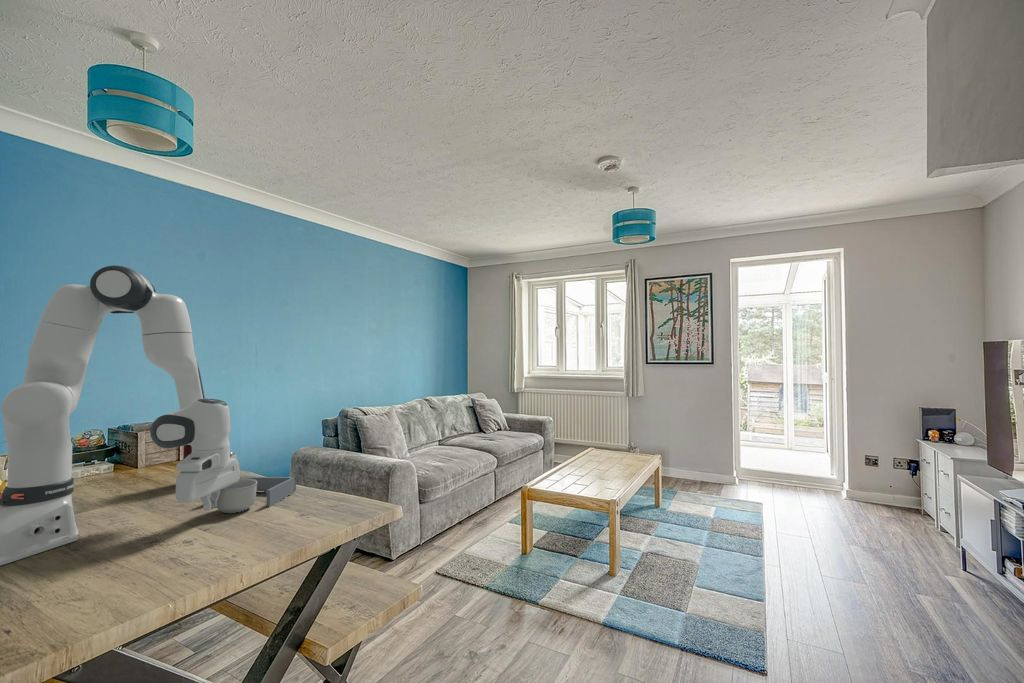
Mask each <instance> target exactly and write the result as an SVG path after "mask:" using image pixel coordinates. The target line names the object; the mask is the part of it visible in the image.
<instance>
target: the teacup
mask: <svg viewBox="0 0 1024 683" xmlns="http://www.w3.org/2000/svg"><path fill="white" fill-rule="evenodd" d="M256 490H257V480H254V479H244V478H243V479H239V481H238V483H236V484H233V485H231V486H229V487H226V488H224V489H221V490H220V495H219V498H218V500H217V506H216V507H215V508H214V509H217V510H218V511H220V512H221V513H224V514H237V513H236V512H238V513H242V512H245V511H247V510H248V509H249V508H250V507H252V506H253V505H254V503H255V502H256V497H257V493H256ZM244 510H245V511H244ZM241 511H242V512H241Z"/></svg>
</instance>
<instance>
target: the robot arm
mask: <svg viewBox="0 0 1024 683" xmlns="http://www.w3.org/2000/svg"><path fill="white" fill-rule="evenodd" d="M110 313H111V314H135V315H136V316H137V317H138V319H139V322H140V328H141V340H142V347H143V351H144V354H145V357H146V359H147V360H148V361H149V362H150V363H151V364H152V365H154V366H155V367H158V368H159V369H161V370H163V371H164V372H166V373H167V374H168V375H170V376H171V377H172V379H173V381H174V384H175V389H176V394H177V398H178V405H179V408H178V410H175V411H171V412H167V413H165V414H163V415H161V416H159V417H157V418H156V419H155V420H154V421H153V422H152V424H151V426H150V431H149V432H150V438H151V440H152V442H153V443H154V444H155V445H156V446H158V447H160V448H162V449H163V448H164V449H177V448H180V447H184V446H185V445H191V446H192V453H191V454H189V455H188V456H187V457H186V458H185V459H183V458H182V460H180V461H179V462H178V463H177V464H176V467H175V470H176V471H177V473H178V472H179V473H178V474H177V476H176V479H175V499H176V500H177V503H191V502H194V501H197V500H200V501H201V503H202V505H203V506H202V507H203V511H205V512H207V511H211V510H213V509H216V508H215V507H216V506H217V500H218V498H219V495H220V490H221V489H224V488H226V487H229V486H231V485H233V484H236V483H238V481H239V479H240V477H241V471H240V462H239V460H238V457H237V454H236V453H235V452H233V451H231V442H230V439H229V437H230V432H231V413H230V412H231V411H230V407H229V405H228V403H227V402H226V401H223V400H221V399H216V398H205V392H204V387H203V381H202V375H201V372H200V368H199V363H198V361H197V357H196V353H195V347H194V338H193V330H192V323H191V318H190V314H189V311H188V307H187V305H186V303H185V301H184V300H183V299H182V298H181V297H179V296H177V295H174V294H169V293H157V292H156V289H155V286H154V285H153V284H152V282H151V281H149V280H148V278H147V277H146V276H144V275H143V274H141V273H139V272H137V271H135V270H134V269H132V268H130V267H127V266H123V265H108V266H104V267H102V268H99V269H98V270H96V271H95V272H94V273H93V274H92V276H91V278H90V282H89V285H84V284H77V283H73V284H72V283H70V284H64V285H62V286H60V287H58V288H57V289H56V290H55V291H54V293H53V294H52V296H51V298H50V299H49V301H48V302H47V304H46V306H45V308H44V310H43V312H42V314H41V318H39V319H40V320H39V322H38V326H37V327H36V330H35V333H34V336H33V338H32V341H31V344H30V348H29V350H28V354H27V356H28V357H27V358H28V359H27V364H26V370H25V375H24V379H23V382H22V384H20V385H18V386H16V387H14V388H12V389H11V390H10V391H9V392H8V393H7V394H6V395H5V396H4V398H3V401H2V402H1V407H0V409H1V414H2V417H3V428H4V429H3V430H4V436H5V442H6V446H7V448H6V449H7V475H6V476H7V477H6V478H7V479H6V480H7V482H6V486H5V487H4V488H3V490H2V492H0V566H4V565H6V564H10V563H12V562H16V561H19V560H22V559H25V558H28V557H31V556H34V555H36V554H40V553H43V552H46V551H50V550H52V549H54V548H57V547H61V546H64V545H67V544H69V543H72V542H75V541H78V539H79V537H78V536H79V533H80V531H79V529H78V527H77V524H76V518H75V513H74V512H75V511H74V506H73V498H72V497H73V496H72V495H73V492H75V491H74V490H75V483H74V482H75V480H74V477H73V476H72V475H73V473H72V472H73V444H72V438H71V437H72V436H71V427H70V415H71V414H72V413H73V412H75V410H76V408H77V406H78V404H79V400H80V396H81V393H82V390H83V385H84V382H85V377H86V375H87V374H86V373H87V368H88V364H89V360H90V359H91V355H92V352H93V350H94V346H95V343H96V339H97V337H98V334H99V331H100V328H101V324H102V323H103V320H104V319H105V317H106V316H107V315H108V314H110Z"/></svg>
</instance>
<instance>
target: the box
mask: <svg viewBox="0 0 1024 683" xmlns="http://www.w3.org/2000/svg"><path fill="white" fill-rule="evenodd" d="M243 478H244V479H254V480H257V490H256V491H264V492H267V493H266V504H265V505H266V506H271V505H273V504H274V505H276V504H277V502H278V501H280V500H282V499H283V498H285V497H287V496H288V495H290V494H292V493H294V492H295V491H296V490H297V477H296V476H240V479H243ZM296 492H297V491H296ZM294 494H295V493H294ZM292 495H293V494H292ZM290 496H291V495H290ZM287 498H288V497H287ZM285 499H286V498H285ZM283 500H284V499H283ZM283 500H282V501H283ZM280 502H281V501H280ZM275 503H276V504H275ZM278 503H279V502H278ZM274 505H273V506H274ZM271 507H272V506H271Z"/></svg>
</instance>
